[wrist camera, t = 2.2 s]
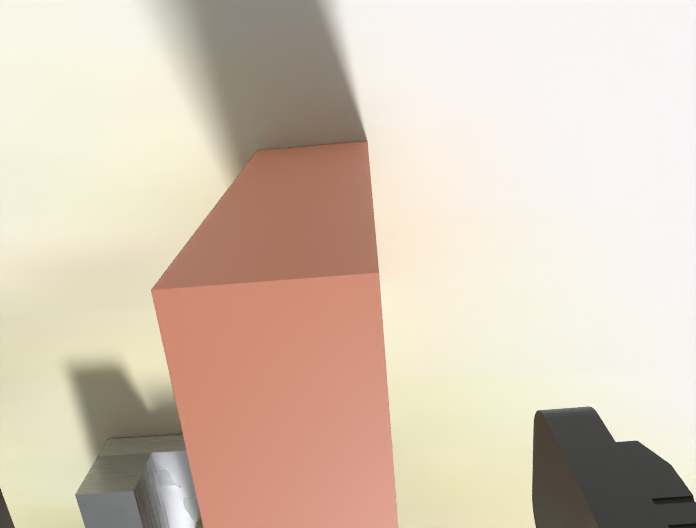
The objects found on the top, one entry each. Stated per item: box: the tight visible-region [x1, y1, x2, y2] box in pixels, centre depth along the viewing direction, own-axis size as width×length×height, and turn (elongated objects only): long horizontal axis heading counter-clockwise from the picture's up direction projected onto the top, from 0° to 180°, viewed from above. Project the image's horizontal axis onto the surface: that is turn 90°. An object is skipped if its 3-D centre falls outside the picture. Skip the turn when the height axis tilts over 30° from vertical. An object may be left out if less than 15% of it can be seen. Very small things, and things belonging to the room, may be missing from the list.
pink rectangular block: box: [151, 141, 398, 528], centre depth 16 cm, size 4×5×11 cm
